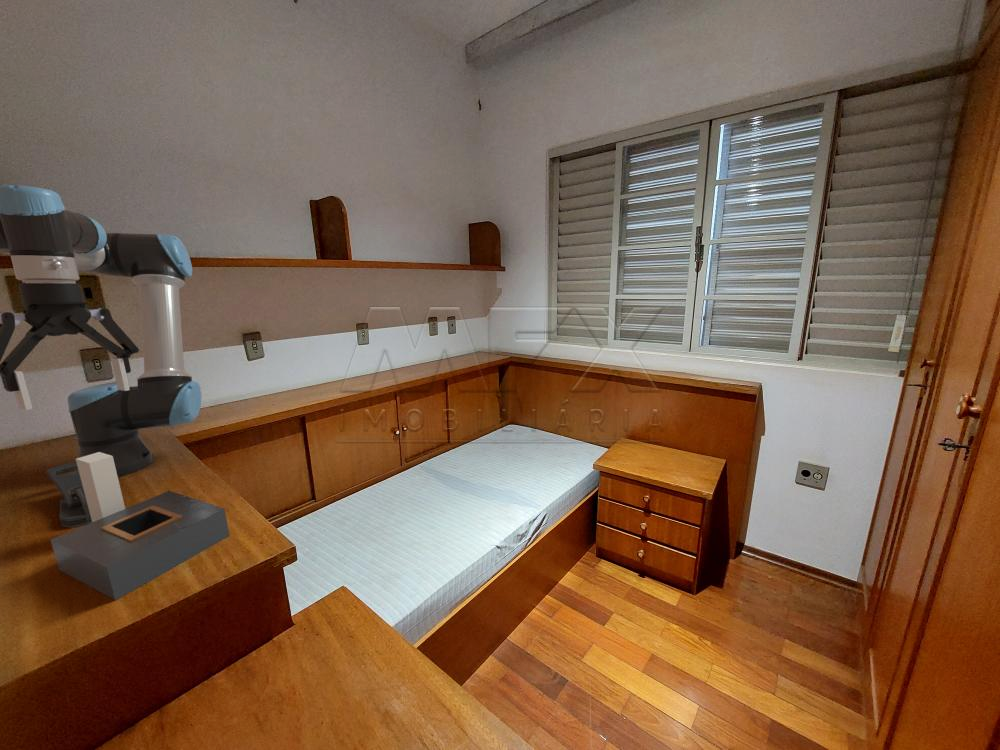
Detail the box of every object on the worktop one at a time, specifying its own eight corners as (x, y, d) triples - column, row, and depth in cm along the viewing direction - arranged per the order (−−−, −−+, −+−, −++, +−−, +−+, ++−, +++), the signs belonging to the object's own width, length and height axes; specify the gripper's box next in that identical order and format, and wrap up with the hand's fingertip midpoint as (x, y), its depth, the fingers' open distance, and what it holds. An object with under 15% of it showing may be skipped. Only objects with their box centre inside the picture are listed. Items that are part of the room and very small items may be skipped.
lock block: (59, 569, 70) (49, 538, 68) (174, 516, 86) (168, 489, 85) (115, 600, 63) (106, 565, 62) (229, 535, 79) (224, 507, 78)
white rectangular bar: (94, 532, 81) (75, 458, 77) (116, 522, 84) (99, 452, 80) (108, 538, 79) (89, 463, 75) (129, 528, 82) (112, 455, 78)
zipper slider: (94, 456, 101) (116, 485, 86) (100, 480, 102) (123, 512, 88) (41, 469, 94) (56, 503, 79) (48, 495, 95) (64, 532, 81)
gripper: (-59, 281, 58) (-17, 421, 62) (146, 282, 80) (166, 385, 84) (-78, 282, 60) (-36, 415, 65) (125, 282, 83) (146, 382, 87)
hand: (78, 398), depth 75 cm, fingers open, 13 cm apart
